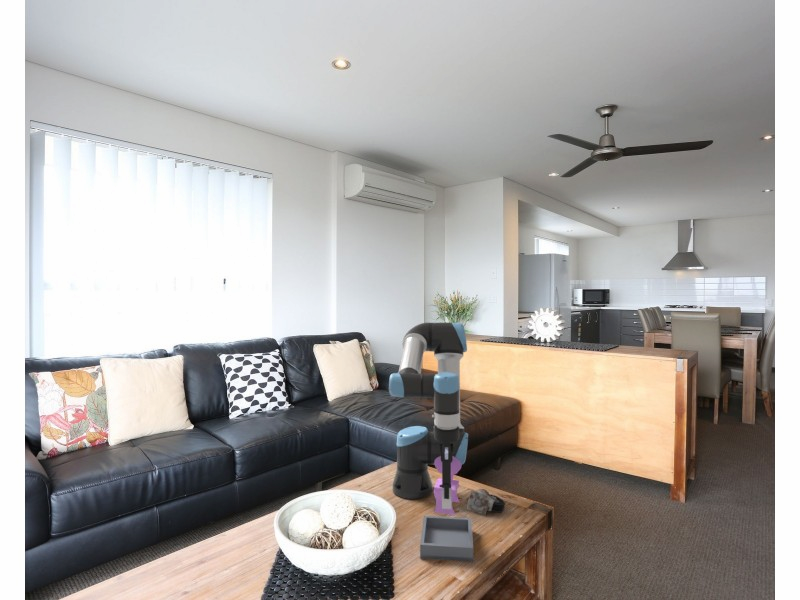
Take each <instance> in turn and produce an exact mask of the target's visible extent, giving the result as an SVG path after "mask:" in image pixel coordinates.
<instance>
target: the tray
mask: <svg viewBox="0 0 800 600" xmlns="http://www.w3.org/2000/svg"><path fill="white" fill-rule="evenodd" d="M422 519H423V520H422V528H421V536H420V543H419V552H420V553H419V559H424V560H425V559H426V560H439V561H440V560H441V561H453V562H469V563H470V562H471V563H473V562H474V539H473V525H472V524H473V523H472V518H471V517H453V516H436V515H433V516H432V515H423V517H422Z"/></svg>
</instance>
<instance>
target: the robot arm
mask: <svg viewBox="0 0 800 600" xmlns="http://www.w3.org/2000/svg"><path fill="white" fill-rule="evenodd" d="M401 345H402V349H403V350H402V355H401V358H400V359H401V361H400V363H399V364H400V365H399V369H398V372H393V373H391V374H390V376H389V381H388V389H389V395H390V396H391V397H395V398H397V397H399V398H424V399H425V398H427V399H429V398H430V399H431V398H433V408H434V409H433V414H432V415H431V418H433V419H434V420H433V422H434V426H433V431H429V430H428V428H427V427H425V426H421V425H414V426H408V427H405V428H402V429H401V430H399V432H397V435H396V444H395V445H396V472H395V474H394V475H395V476H394V479H393V481H392V492H393V494H394V495H395V496H398V497H399V498H402V499H406V500H408V499H410V500H416V499H423V498H427V497H428V496H430V495H432V493H433V482H432V479H431V475H430V473H429V469H428V468H429V467H428V465H435V464H434V461H435V459H436V458H438V457H440V456H441V462H442V473H441V477H442V478H441V479H442V485H440V487H442V509H451V462H452V456H454V457H456V458H457V459H458V460H459V461H460V462H461V466H462V465H464V464H465V462H466V459H467V452H468V442H469V439H468V438H469V433H467V432H465V427H464V426H463V425H462V423H461V378H460V376H461V375H460V374H461V372H460V371H461V370H460V369H461V366H460V364H461V359H462V358H463V357H464V353H466V352H467V351H468V345H467V336H466V331H465V326H464V325H463V324H462V323H461V322H452V321H450V322H422V323H419V324H417V325H415V326H413V327H412V328H410V329H409V330H408V331H407V332H406V333H405V335H404V337H403V340H402V344H401ZM425 352H433V356H434V358H435V359H436V360H437V373H422V367H423V358H424V353H425Z"/></svg>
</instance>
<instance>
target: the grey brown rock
mask: <svg viewBox="0 0 800 600" xmlns="http://www.w3.org/2000/svg"><path fill="white" fill-rule="evenodd" d="M466 505H467V506H466V509H467V510H470V511H472V512H474V513H475V514H479V515H480V516H484V517H486V515H487V511H488V512H494V513H502V512H503V511H504V509H505V505H506V503H505V501H504V500H503V499H502V498H500V497H499V496H497V495H494V494H491V493H490V492H489V491H488V490H487V489H484V488H479V489H476V490H474V489H471V490H470V494H469V497H468V501H467V504H466Z"/></svg>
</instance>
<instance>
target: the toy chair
mask: <svg viewBox="0 0 800 600" xmlns="http://www.w3.org/2000/svg"><path fill="white" fill-rule="evenodd" d="M433 465H434V467H435V468H436V470H437V472H439V473H440V474H442V462H441V456H440V457H438V458H436V459H435V461H434V464H433ZM461 469H462V465H461V462H460V461H459V460H458V459H457V458H456V457H454V456H452V462H451V509H442V487H440V485H442V478H440V477H438V478H437V480H436V482H435V483H434V486H433V495H434V498H435V501H436V502H435V503H436V504H435V507H434V511H433V513H436V514H442V515H449V516H451V515H452V516H456V513H455V510H454V508H453V507H454V506H453V503H460V502H461V501H460V499H459V498H458V494H457V493H458V492H457V490H458V489H459V486H460V480H458V479H454V475H456V474H458V472H459V471H461Z"/></svg>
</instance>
